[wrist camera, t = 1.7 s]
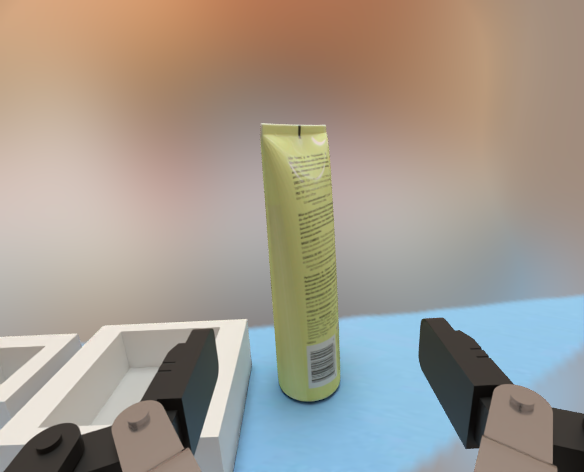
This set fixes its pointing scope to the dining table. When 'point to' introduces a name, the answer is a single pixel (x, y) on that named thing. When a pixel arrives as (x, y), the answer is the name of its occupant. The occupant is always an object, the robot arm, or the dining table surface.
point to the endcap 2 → (138, 387)
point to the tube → (302, 258)
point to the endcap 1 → (30, 367)
